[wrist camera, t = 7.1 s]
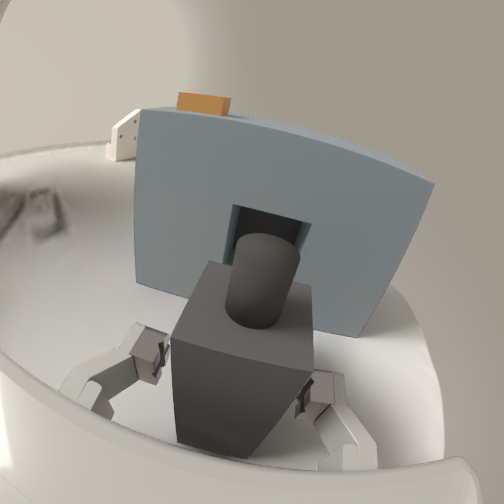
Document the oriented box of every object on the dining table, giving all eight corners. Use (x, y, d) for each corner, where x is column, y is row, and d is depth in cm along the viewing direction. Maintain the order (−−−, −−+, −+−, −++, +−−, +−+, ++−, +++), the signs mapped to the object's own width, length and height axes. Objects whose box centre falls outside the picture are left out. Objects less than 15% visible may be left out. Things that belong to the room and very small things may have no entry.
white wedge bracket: (153, 142, 53) (142, 109, 45) (120, 172, 48) (104, 138, 41) (142, 140, 54) (130, 108, 46) (110, 168, 49) (94, 136, 42)
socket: (356, 337, 20) (441, 166, 13) (136, 282, 20) (143, 90, 13) (345, 279, 27) (397, 145, 19) (173, 236, 27) (190, 92, 20)
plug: (246, 459, 11) (347, 315, 5) (177, 442, 11) (170, 272, 5) (264, 353, 17) (320, 194, 12) (211, 339, 17) (240, 174, 12)
